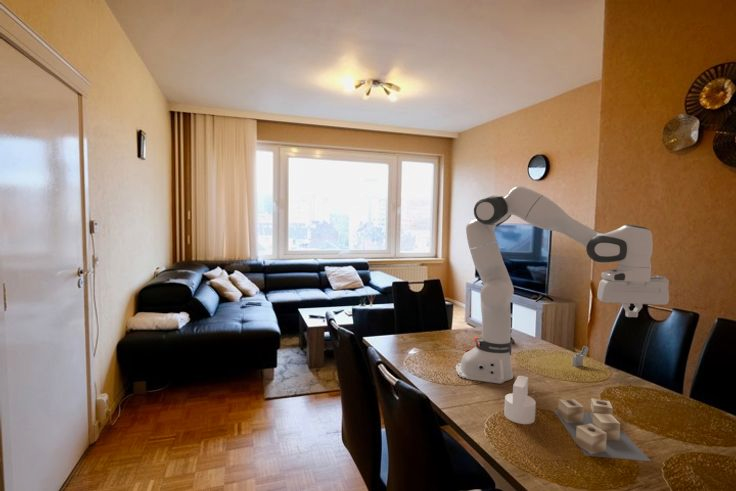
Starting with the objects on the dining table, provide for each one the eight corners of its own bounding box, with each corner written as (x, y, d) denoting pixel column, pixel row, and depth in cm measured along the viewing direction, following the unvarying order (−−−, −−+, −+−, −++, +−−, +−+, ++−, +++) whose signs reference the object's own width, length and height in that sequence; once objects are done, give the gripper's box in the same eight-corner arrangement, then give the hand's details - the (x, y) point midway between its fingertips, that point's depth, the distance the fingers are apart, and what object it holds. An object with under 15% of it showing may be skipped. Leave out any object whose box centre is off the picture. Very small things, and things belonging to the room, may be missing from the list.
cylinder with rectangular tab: (532, 429, 112) (534, 390, 111) (501, 420, 117) (502, 382, 116) (536, 416, 120) (538, 379, 119) (507, 408, 124) (508, 373, 124)
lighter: (575, 366, 161) (576, 348, 160) (572, 365, 162) (573, 347, 162) (588, 364, 163) (589, 346, 162) (584, 363, 165) (585, 345, 164)
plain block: (600, 439, 106) (601, 422, 106) (592, 429, 111) (593, 413, 111) (619, 440, 105) (620, 423, 105) (610, 430, 110) (611, 414, 110)
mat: (585, 457, 99) (585, 455, 99) (552, 411, 123) (552, 409, 122) (651, 463, 97) (651, 461, 97) (605, 415, 120) (605, 413, 120)
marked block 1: (567, 423, 114) (568, 406, 114) (558, 414, 119) (558, 398, 119) (583, 422, 115) (584, 406, 114) (573, 414, 120) (574, 398, 119)
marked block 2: (592, 420, 116) (593, 404, 116) (590, 413, 121) (591, 397, 120) (611, 424, 114) (612, 407, 114) (608, 416, 119) (609, 400, 118)
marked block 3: (591, 454, 99) (592, 435, 99) (575, 443, 104) (576, 425, 104) (605, 451, 101) (606, 432, 100) (589, 440, 105) (590, 422, 105)
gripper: (662, 274, 124) (659, 315, 125) (596, 272, 126) (594, 312, 127) (675, 277, 117) (672, 320, 118) (605, 275, 120) (603, 317, 121)
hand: (631, 316), depth 123 cm, fingers closed
